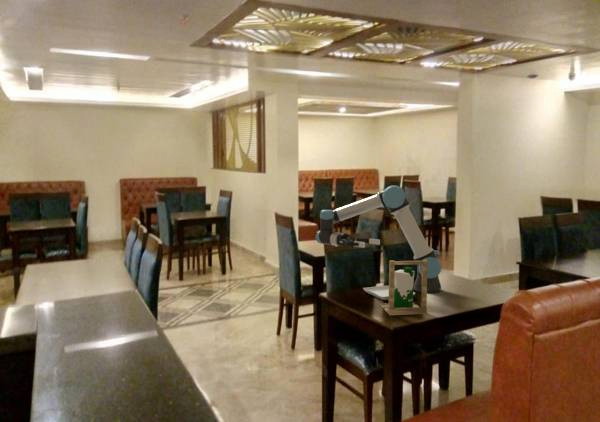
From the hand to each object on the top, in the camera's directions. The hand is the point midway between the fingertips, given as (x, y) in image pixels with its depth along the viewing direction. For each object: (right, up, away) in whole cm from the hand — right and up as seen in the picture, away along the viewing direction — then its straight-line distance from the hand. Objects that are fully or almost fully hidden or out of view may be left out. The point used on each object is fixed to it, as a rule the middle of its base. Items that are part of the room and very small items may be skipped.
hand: (372, 243), depth 249 cm
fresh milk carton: (+13, -31, -12) cm, 36 cm away
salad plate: (+11, -30, +12) cm, 34 cm away
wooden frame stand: (+13, -31, -14) cm, 36 cm away
